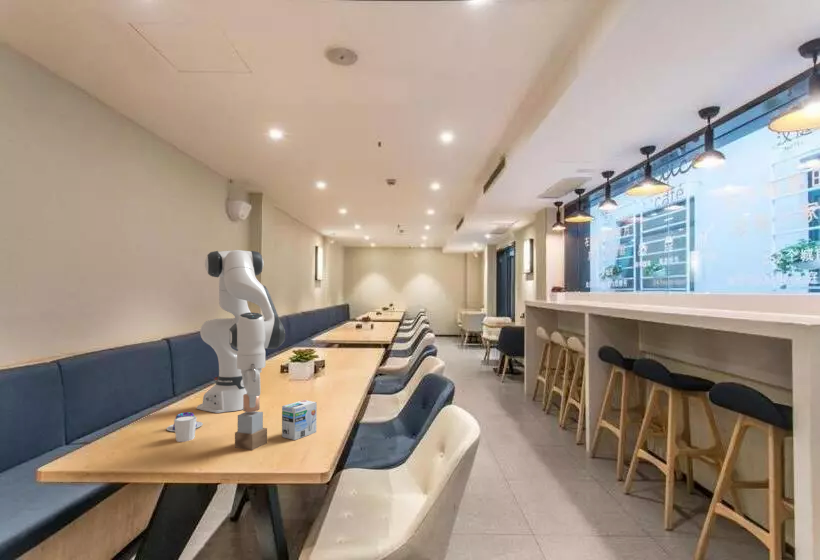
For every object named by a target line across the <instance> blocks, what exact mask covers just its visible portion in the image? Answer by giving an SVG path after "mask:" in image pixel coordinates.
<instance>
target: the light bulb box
mask: <svg viewBox="0 0 820 560" xmlns="http://www.w3.org/2000/svg"><path fill="white" fill-rule="evenodd" d="M317 410H318V409H317V401H311V400H307V399H302V400H299V401H295V402H292V403H288V404H285V405H282V406H281V437H282V438H285V439H290V440H293V441H296V440H299V439H301V438H304V437H307V436H310V435H313V434H316V433H317Z"/></svg>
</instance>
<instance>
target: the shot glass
mask: <svg viewBox="0 0 820 560" xmlns="http://www.w3.org/2000/svg"><path fill="white" fill-rule="evenodd" d="M175 418H176V417H175ZM175 418H174V420H173V424H175V430H174V433H175V441H176V442H178V443H179V442H180V443H183V442H184V443H185V442H190V441H192V440H194V439H195V436H196V429H197V428H196V421H197V418H198V417H197V416H195V415H194V416H184V417H179V418H176V419H175Z"/></svg>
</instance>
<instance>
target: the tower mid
mask: <svg viewBox="0 0 820 560" xmlns="http://www.w3.org/2000/svg"><path fill="white" fill-rule="evenodd" d="M263 415H264V412H263V411H253V412H242V413H240V414H238V415H237V431H238V433H247V434H253V433H255V432H257V431H259V430H261V429H263V428H264V426H263V425H264V423H263V422H264V416H263Z"/></svg>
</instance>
